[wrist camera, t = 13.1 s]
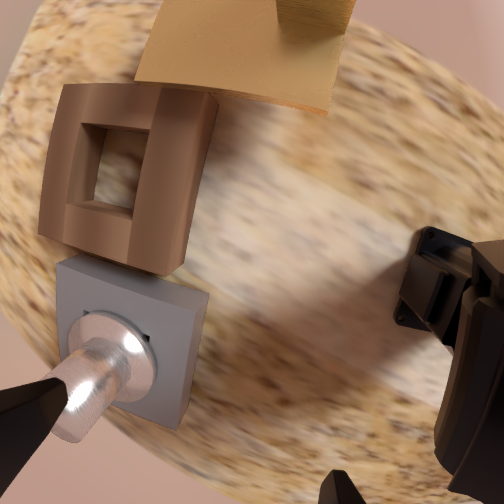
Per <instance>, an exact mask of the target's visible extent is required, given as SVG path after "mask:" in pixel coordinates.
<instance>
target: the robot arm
mask: <svg viewBox="0 0 504 504" xmlns="http://www.w3.org/2000/svg"><path fill="white" fill-rule="evenodd" d="M429 231H431V232H432V236H431V237H430V238H428V232H429ZM399 294H400V296H401V297H400V299H399V302H398V305H397V307H396V310H395V312H394V315H393V319H394V321H395V322H396V324H398V325H401V326H405V327H410V328H414V329H419V330H424V331H429V332H433V334H434V335H435V336H436V337H437V338H438V339H439V341H440V342H441V343H442V344H443V345H444V346H445V347H446V348H447V350H448V351H449V352H450V353H451V354H452V356H453V360H452V364H451V369H450V373H449V378H448V382H447V386H446V390H445V393H444V397H443V401H442V404H441V408H440V411H439V414H438V418H437V421H436V424H435V427H434V442H435V447H436V448H435V450H434V454H435V455H436V457H437V459H438V461H439V463H440V464H441V465H442V466H443V467H444V468H445V469H446V470H447V471H448V472H449V473H450V474H451V475H453V478H452V480H451V482H450V483H449V485H448V487H447V489H448V490H449V491H451V492H455V493H459V494H464V495H468V496H470V497H472V498H474V499H476V500H478V501H481V502H482V503H483V504H504V240H496V241H486V242H477V243H474V242H471V241H469V240H466V239H464V238H461V237H458V236H456V235H453V234H450V233H448V232H445V231H442V230H440V229H437V228H434V227H431V226H427V227H425V228H424V229H423V231H422V233H421V237H420V240H419V243H418V247H417V250H416V253H415V255H414V256H412V257H411V260H410V264H409V267H408V270H407V273H406V275H405V278H404V281H403V284H402V287H401V290H400V292H399ZM400 315H404V316H403V318H402V319H399V316H400ZM67 403H68V393H67V388H66V384H65V382H64V381H62V380H61V379H59V378H57V377H52V378H49V379H45V380H41V381H37V382H33V383H30V384H25V385H21V386H17V387H13V388H9V389H4V390H0V498H1V496H2V495H3V493H4V492H5V491H6V489H7V488H8V487H9V485H10V484H11V482H12V481H13V480H14V479H15V477H16V476H17V474H18V473H19V472H20V471H21V469H22V468H23V467H24V465H25V464H26V463H27V461H28V460H29V459H30V457H31V456H32V455H33V453H34V452H35V451H36V450H37V448H38V447H39V446H40V444H41V443H42V442H43V441H44V439H45V438H46V437H47V435H48V434H49V433H50V431H51V430H52V428H53V426H54V425H55V423H56V421H57V420H58V418H59V416H60V415H61V413H62V411H63V410H64V408H65V407H66V405H67ZM318 504H366V502H365V501H364V499H363V498H362V496H361V495H360V493H359V492H358V490H357V488H356V487H355V485H354V484H353V482H352V481H351V479H350V478H349V476H348V474H347V473H346V472H345V471H344V470H335V469H334V470H331V471H330V473H329V474H328V475H327V477H326V478H325V479H324V481H323V482H322V484H321V487H320V493H319V500H318Z"/></svg>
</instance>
